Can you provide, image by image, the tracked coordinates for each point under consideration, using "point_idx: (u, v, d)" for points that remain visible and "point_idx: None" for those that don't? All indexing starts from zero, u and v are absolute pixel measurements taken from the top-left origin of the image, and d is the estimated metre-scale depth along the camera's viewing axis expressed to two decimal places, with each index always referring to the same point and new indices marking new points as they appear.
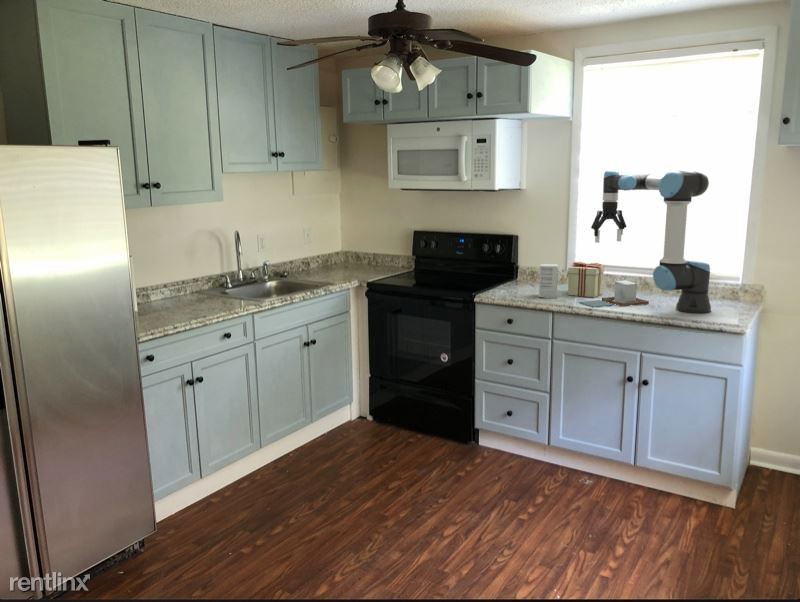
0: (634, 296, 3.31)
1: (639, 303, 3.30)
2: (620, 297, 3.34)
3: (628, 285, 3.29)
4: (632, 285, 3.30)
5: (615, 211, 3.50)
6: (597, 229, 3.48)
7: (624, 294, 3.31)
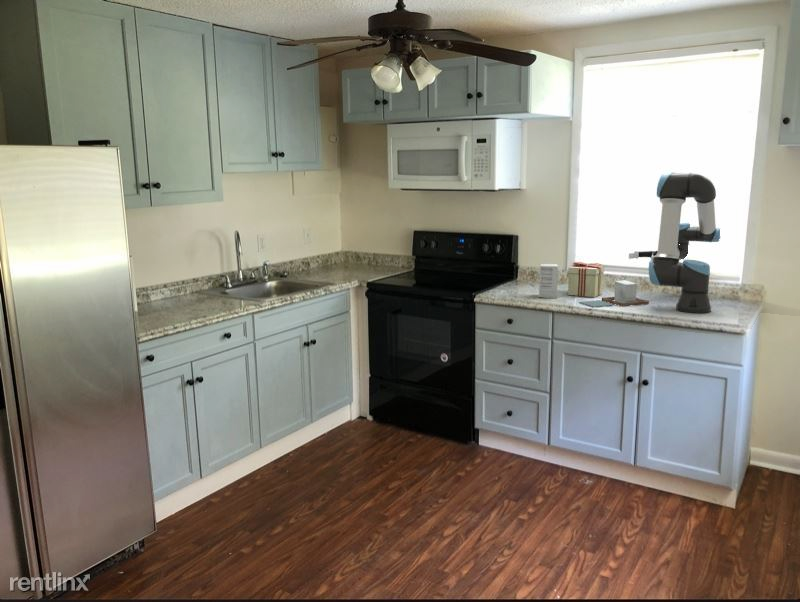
0: (634, 296, 3.31)
1: (639, 303, 3.30)
2: (620, 297, 3.34)
3: (628, 285, 3.29)
4: (632, 285, 3.30)
5: None
6: (637, 252, 3.46)
7: (624, 294, 3.31)
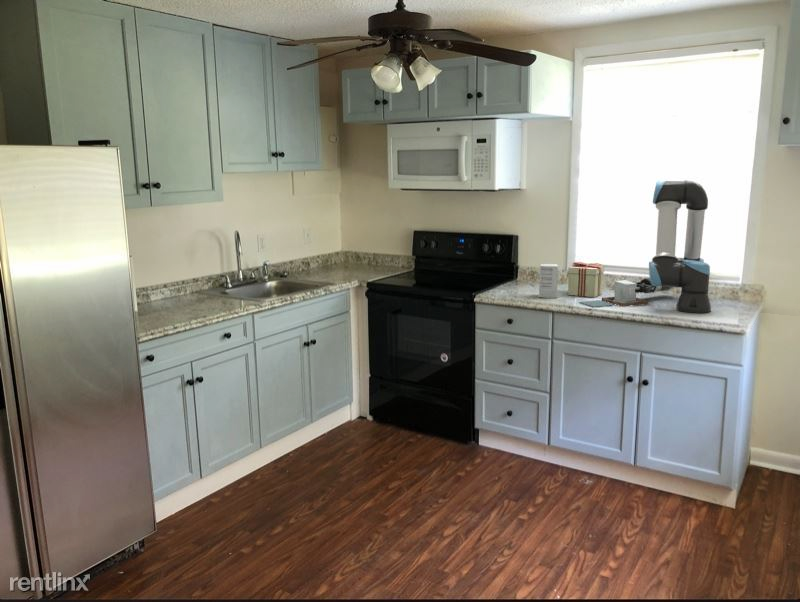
0: (634, 296, 3.31)
1: (639, 303, 3.30)
2: (620, 297, 3.34)
3: (628, 285, 3.29)
4: (632, 285, 3.30)
5: (647, 285, 3.38)
6: None
7: (624, 294, 3.31)
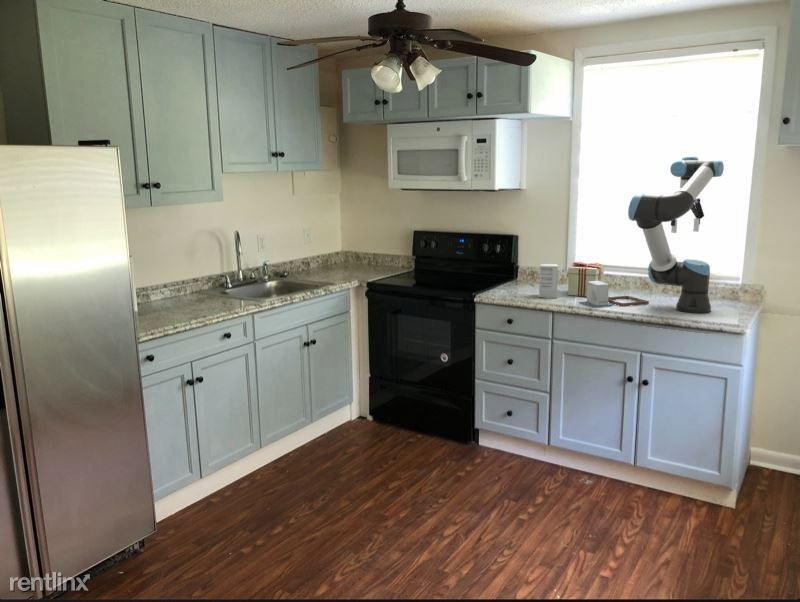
0: (606, 297, 3.27)
1: (639, 303, 3.30)
2: (592, 297, 3.29)
3: (600, 286, 3.25)
4: (604, 285, 3.25)
5: (693, 199, 3.29)
6: (674, 218, 3.27)
7: (595, 295, 3.26)
